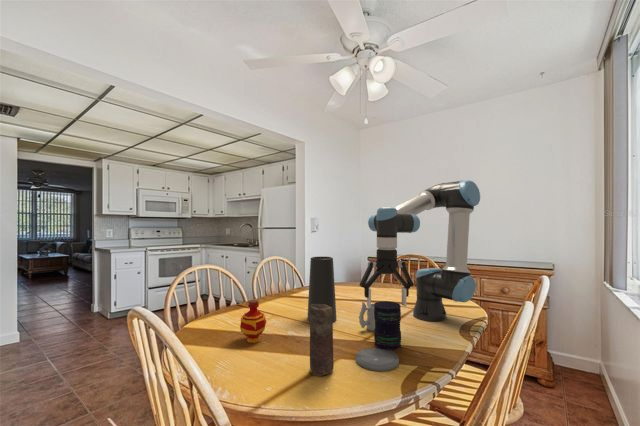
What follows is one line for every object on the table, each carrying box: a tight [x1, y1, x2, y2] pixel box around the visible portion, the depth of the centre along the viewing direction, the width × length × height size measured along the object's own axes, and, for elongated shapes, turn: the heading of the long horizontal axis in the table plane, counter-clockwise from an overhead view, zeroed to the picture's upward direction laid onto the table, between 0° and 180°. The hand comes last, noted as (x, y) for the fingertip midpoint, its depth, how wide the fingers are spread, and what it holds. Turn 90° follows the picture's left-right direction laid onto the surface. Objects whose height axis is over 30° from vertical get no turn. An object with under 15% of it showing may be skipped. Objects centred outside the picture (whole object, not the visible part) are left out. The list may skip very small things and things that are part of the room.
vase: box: [306, 256, 337, 323], centre depth 144 cm, size 14×14×29 cm
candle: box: [309, 304, 335, 377], centre depth 95 cm, size 8×7×20 cm
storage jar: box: [373, 300, 402, 352], centre depth 114 cm, size 10×10×15 cm
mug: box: [358, 301, 375, 332], centre depth 131 cm, size 8×12×12 cm, turn 115°
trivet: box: [355, 347, 400, 372], centre depth 101 cm, size 14×14×1 cm
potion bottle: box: [239, 299, 267, 343], centre depth 119 cm, size 10×10×15 cm
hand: (386, 306), depth 114 cm, fingers open, 13 cm apart
